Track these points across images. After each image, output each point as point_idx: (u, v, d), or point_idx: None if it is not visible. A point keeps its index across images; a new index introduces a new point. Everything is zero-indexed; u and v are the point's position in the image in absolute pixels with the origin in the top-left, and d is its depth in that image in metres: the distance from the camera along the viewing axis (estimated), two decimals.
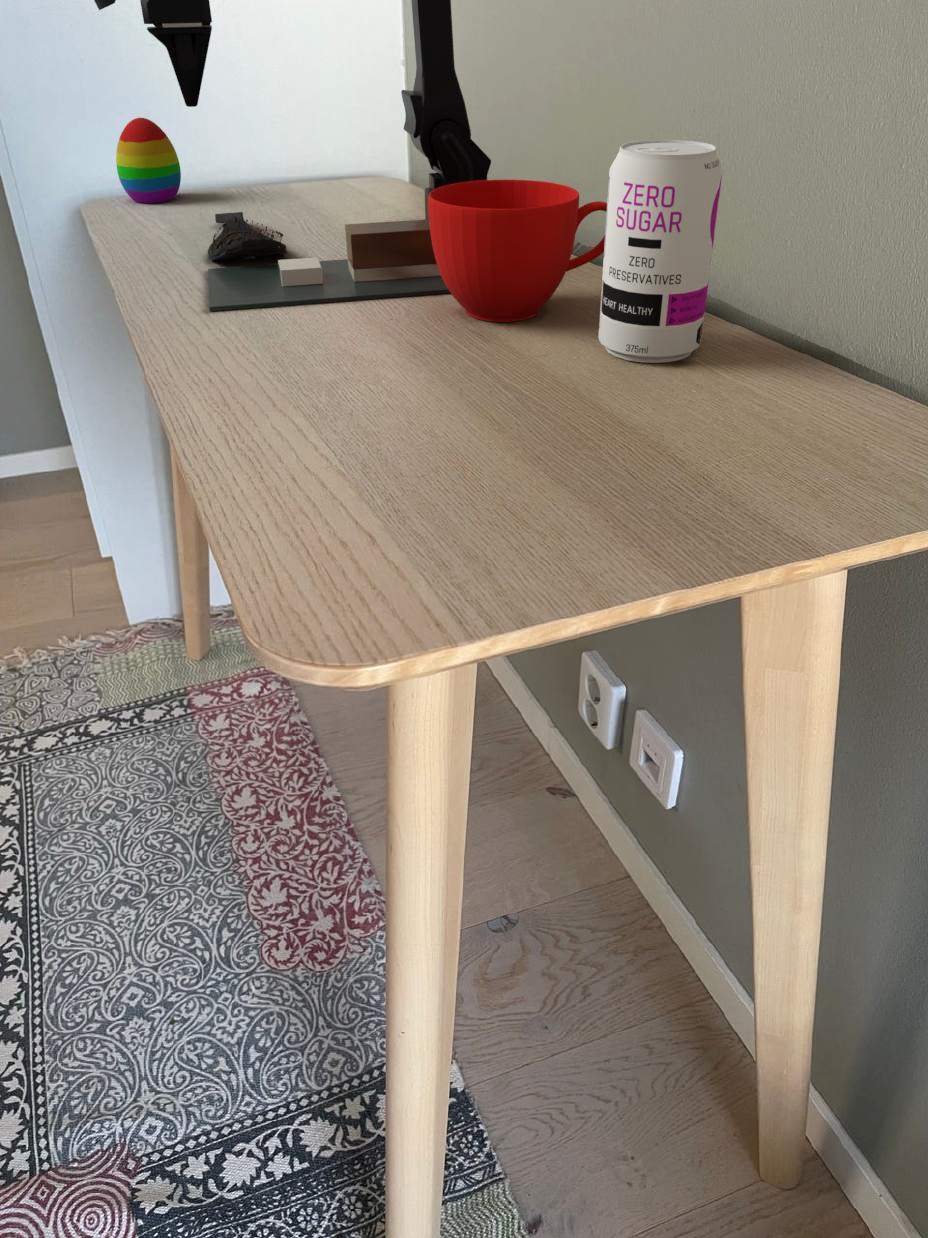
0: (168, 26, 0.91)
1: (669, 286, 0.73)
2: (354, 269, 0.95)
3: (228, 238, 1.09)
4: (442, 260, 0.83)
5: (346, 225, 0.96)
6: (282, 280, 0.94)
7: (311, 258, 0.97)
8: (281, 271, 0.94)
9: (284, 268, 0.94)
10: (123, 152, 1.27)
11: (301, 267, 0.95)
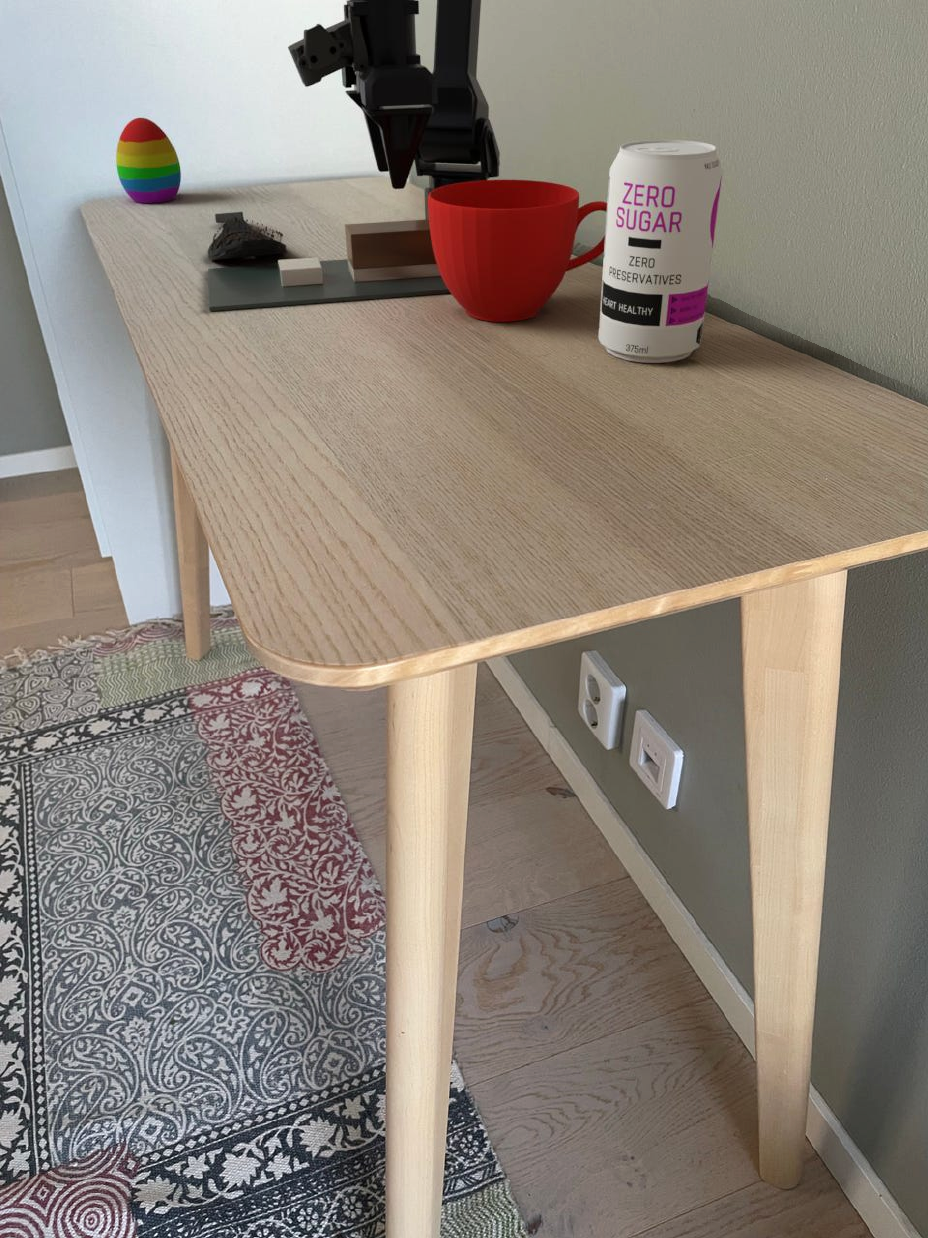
0: (389, 107, 0.83)
1: (669, 286, 0.73)
2: (354, 269, 0.95)
3: (228, 238, 1.09)
4: (442, 260, 0.83)
5: (346, 225, 0.96)
6: (282, 280, 0.94)
7: (311, 258, 0.97)
8: (281, 271, 0.94)
9: (284, 268, 0.94)
10: (123, 152, 1.27)
11: (301, 267, 0.95)
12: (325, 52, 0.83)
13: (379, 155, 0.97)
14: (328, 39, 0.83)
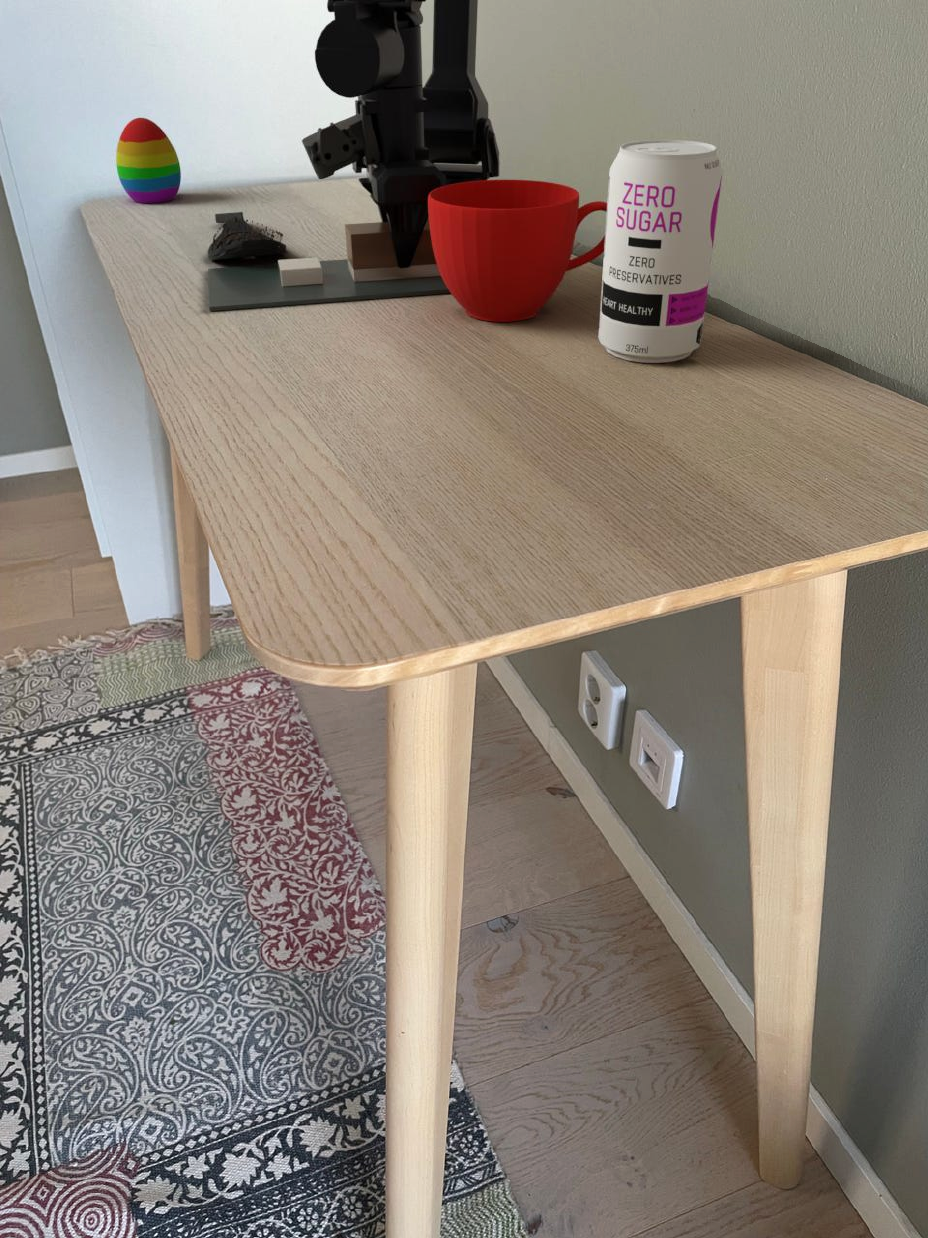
0: None
1: (669, 286, 0.73)
2: (354, 269, 0.95)
3: (228, 238, 1.09)
4: (442, 260, 0.83)
5: (346, 225, 0.96)
6: (282, 280, 0.94)
7: (311, 258, 0.97)
8: (281, 271, 0.94)
9: (284, 268, 0.94)
10: (123, 152, 1.27)
11: (301, 267, 0.95)
12: (338, 150, 0.87)
13: None
14: (341, 138, 0.87)
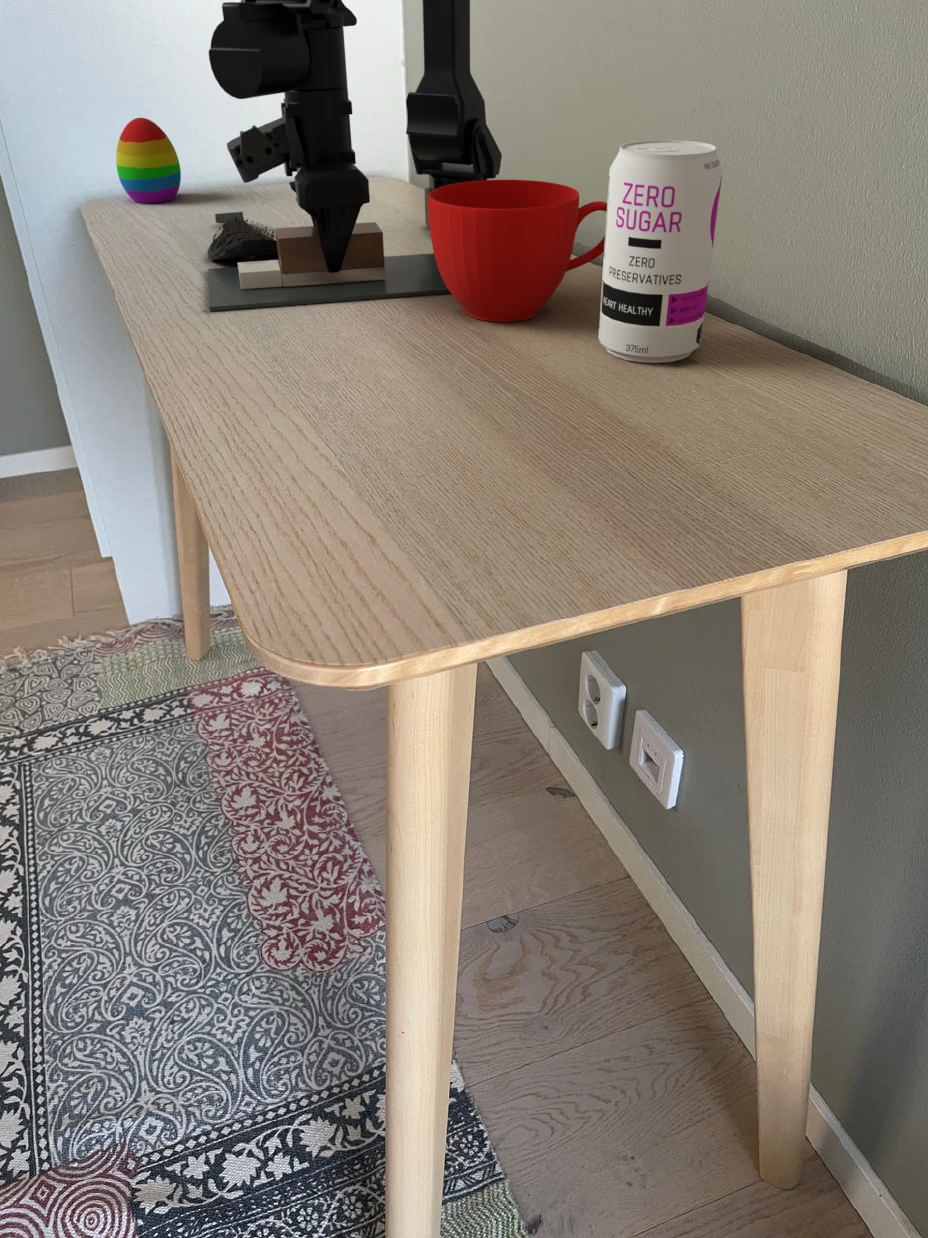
0: None
1: (669, 286, 0.73)
2: (283, 274, 0.94)
3: (228, 238, 1.09)
4: (442, 260, 0.83)
5: (276, 229, 0.95)
6: (241, 283, 0.94)
7: (271, 261, 0.97)
8: (240, 274, 0.93)
9: (243, 271, 0.94)
10: (123, 152, 1.27)
11: (260, 270, 0.94)
12: (261, 153, 0.86)
13: None
14: (263, 141, 0.85)
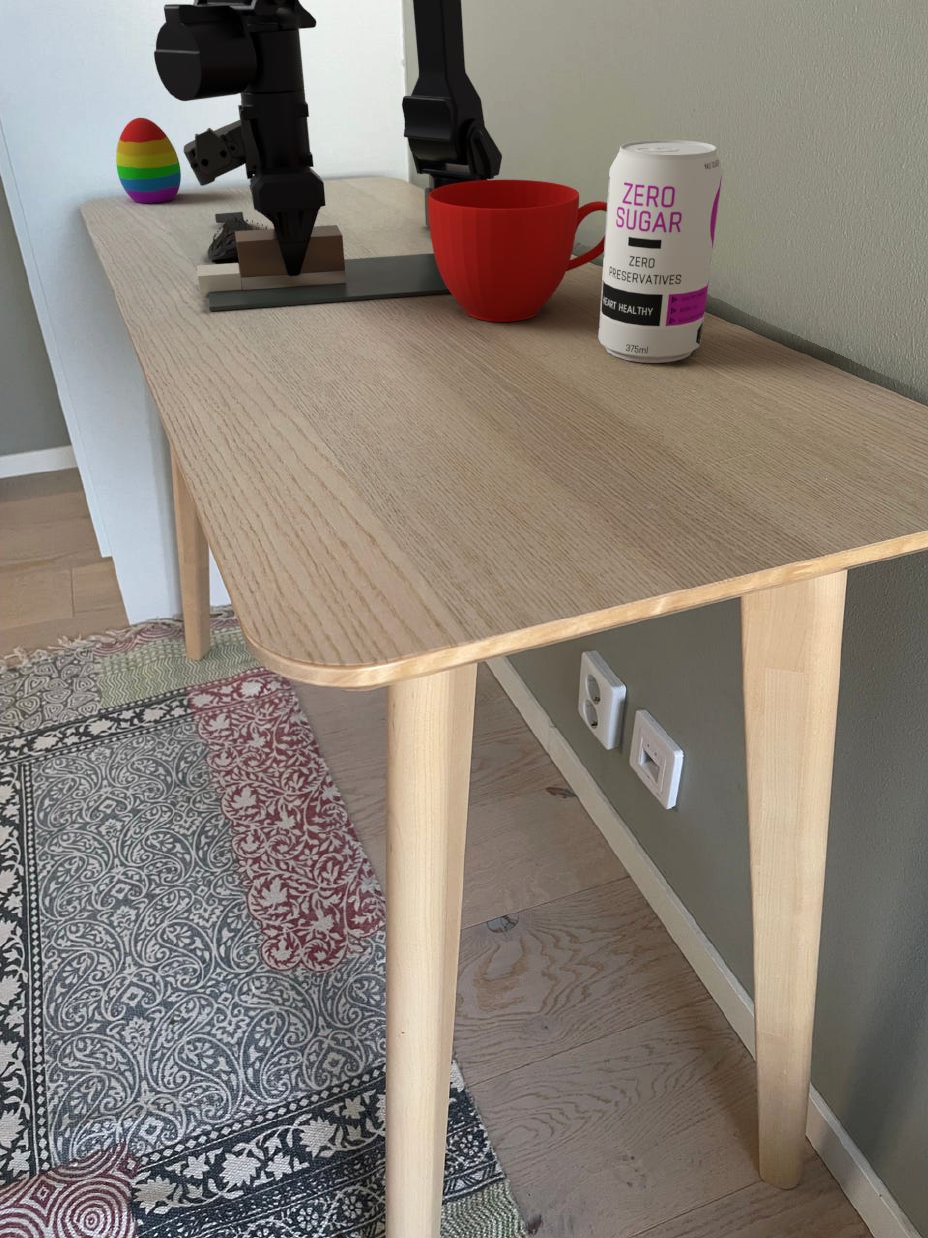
0: None
1: (669, 286, 0.73)
2: (242, 277, 0.93)
3: (228, 238, 1.09)
4: (442, 260, 0.83)
5: (236, 232, 0.95)
6: (200, 286, 0.93)
7: (232, 264, 0.96)
8: (198, 277, 0.93)
9: (202, 274, 0.93)
10: (123, 152, 1.27)
11: (219, 273, 0.93)
12: (216, 156, 0.85)
13: None
14: (217, 143, 0.85)
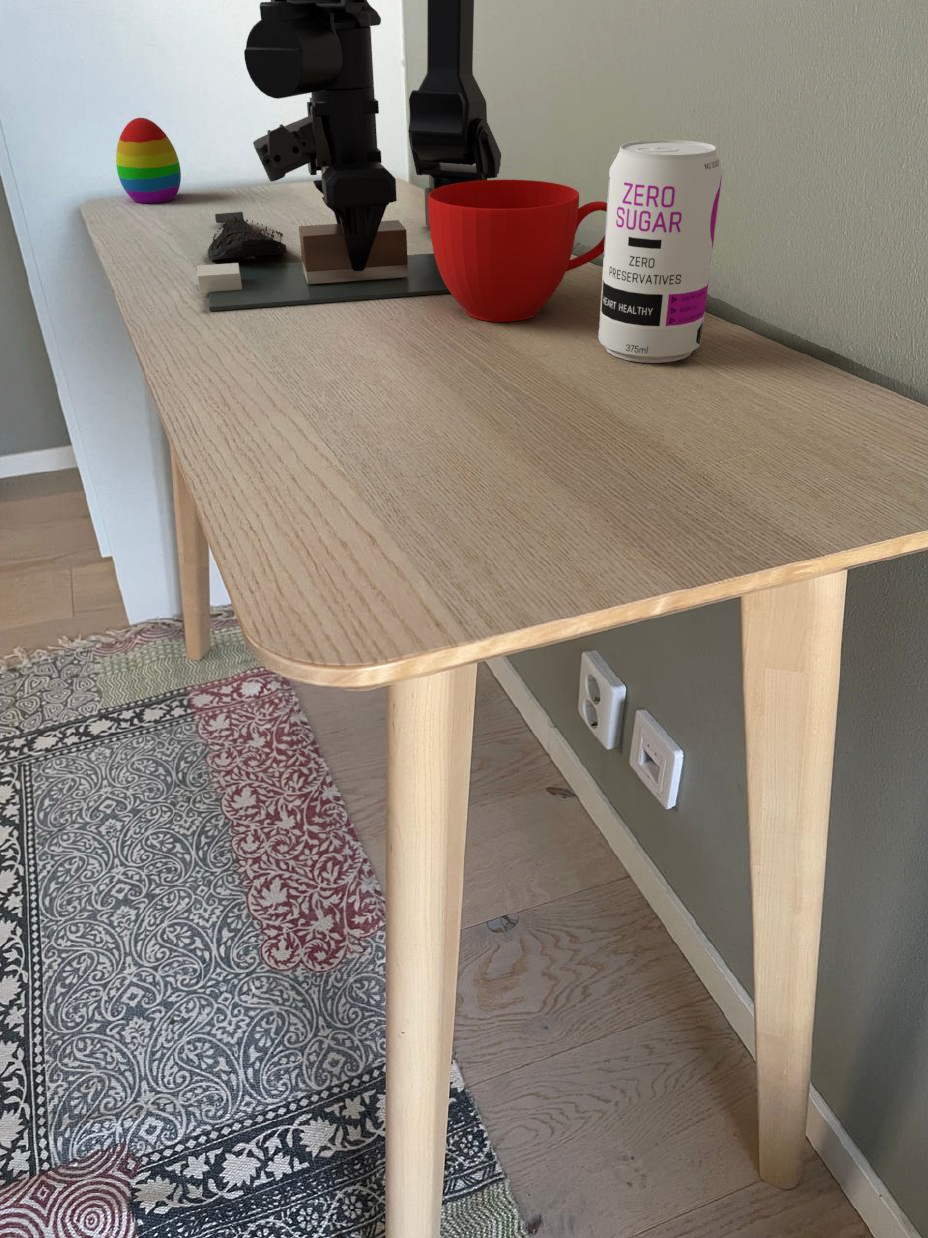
0: None
1: (669, 286, 0.73)
2: (307, 271, 0.94)
3: (228, 238, 1.09)
4: (442, 260, 0.83)
5: (300, 227, 0.96)
6: (200, 286, 0.93)
7: (232, 264, 0.96)
8: (198, 277, 0.93)
9: (202, 274, 0.93)
10: (123, 152, 1.27)
11: (219, 273, 0.93)
12: (288, 152, 0.86)
13: None
14: (290, 139, 0.86)
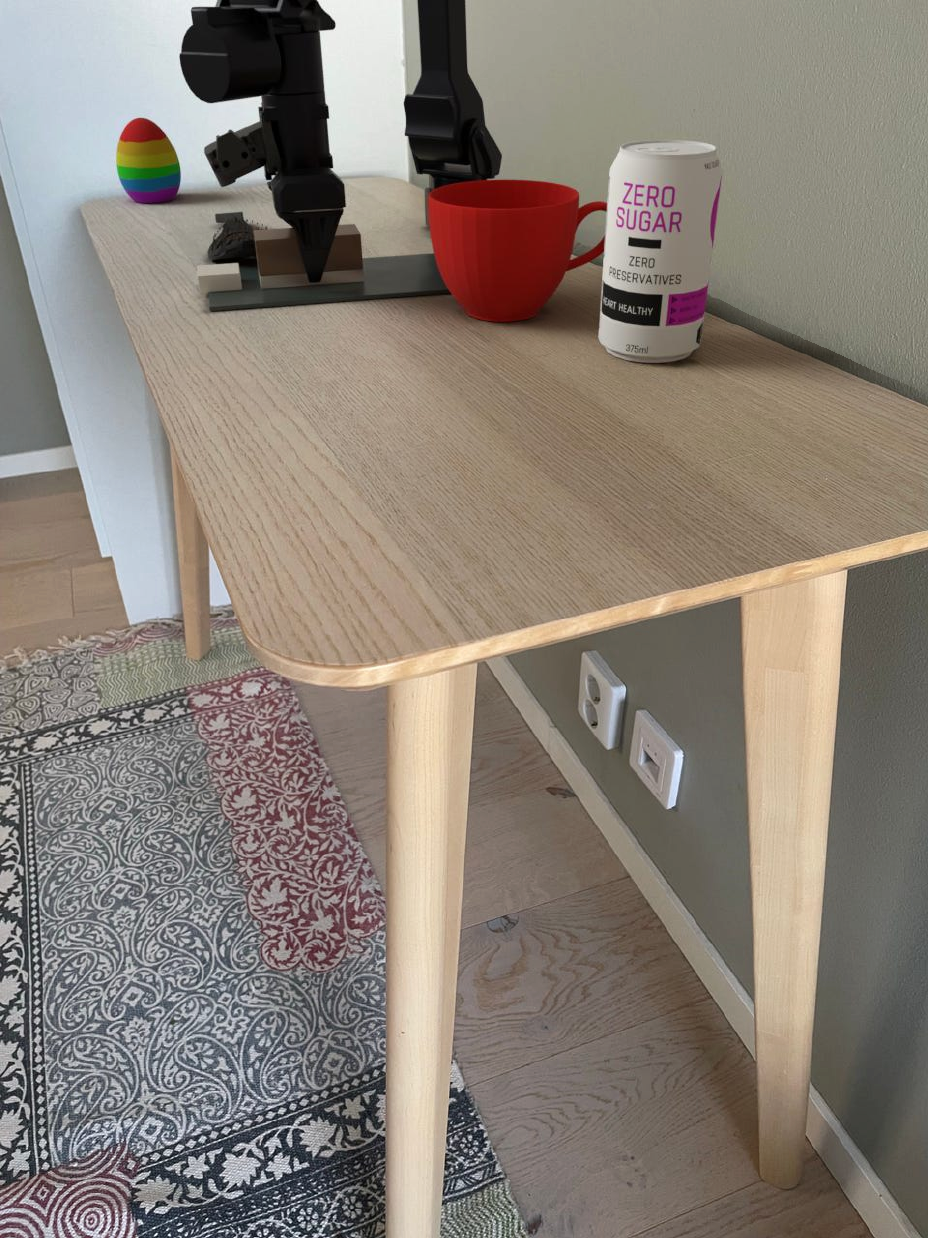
0: (299, 211, 0.86)
1: (669, 286, 0.73)
2: (261, 276, 0.93)
3: (228, 238, 1.09)
4: (442, 260, 0.83)
5: (254, 231, 0.95)
6: (200, 286, 0.93)
7: (232, 264, 0.96)
8: (198, 277, 0.93)
9: (202, 274, 0.93)
10: (123, 152, 1.27)
11: (219, 273, 0.93)
12: (237, 157, 0.86)
13: None
14: (239, 145, 0.85)
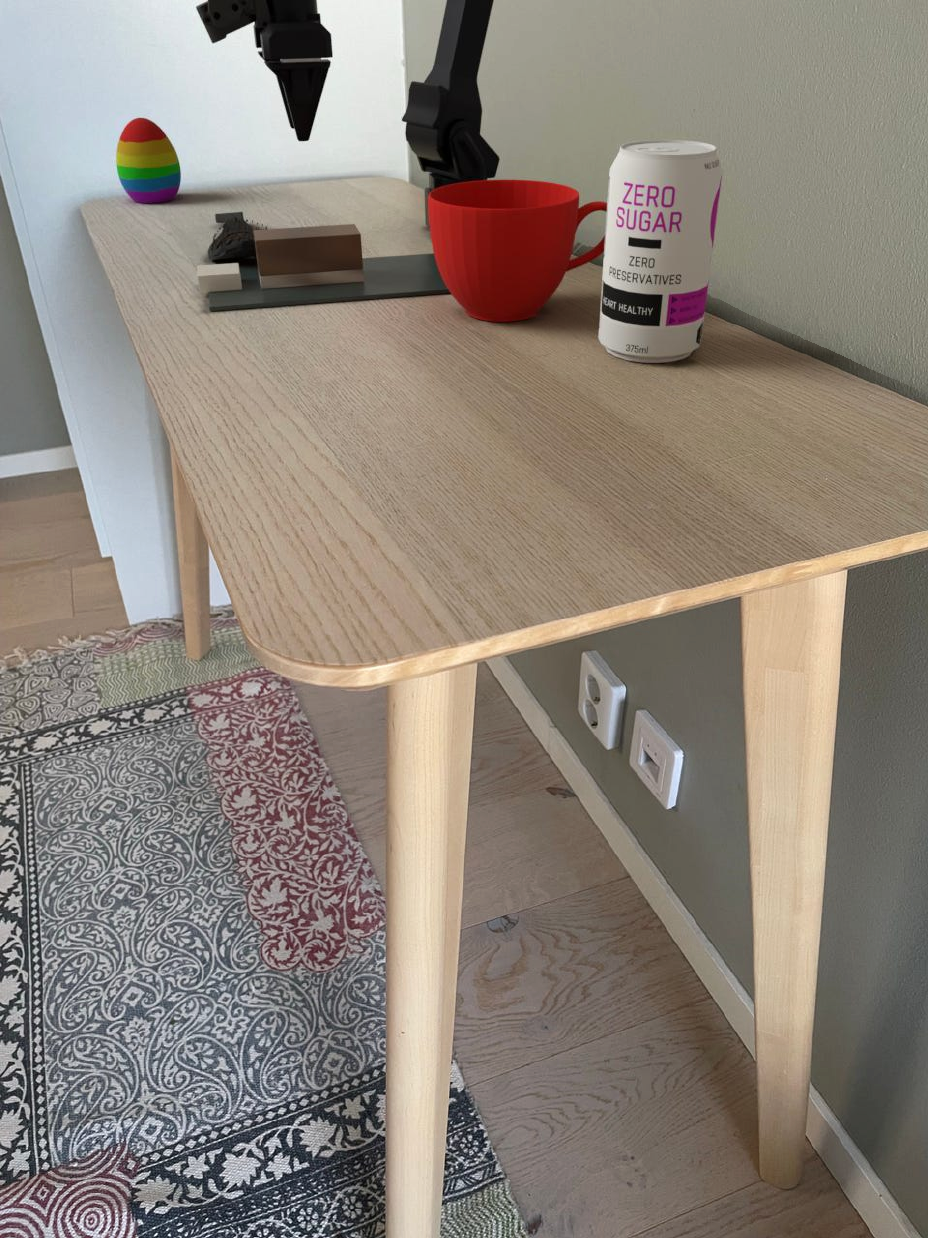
0: (287, 61, 0.89)
1: (669, 286, 0.73)
2: (261, 276, 0.93)
3: (228, 238, 1.09)
4: (442, 260, 0.83)
5: (254, 231, 0.95)
6: (200, 286, 0.93)
7: (232, 264, 0.96)
8: (198, 277, 0.93)
9: (202, 274, 0.93)
10: (123, 152, 1.27)
11: (219, 273, 0.93)
12: (227, 9, 0.89)
13: None
14: None
